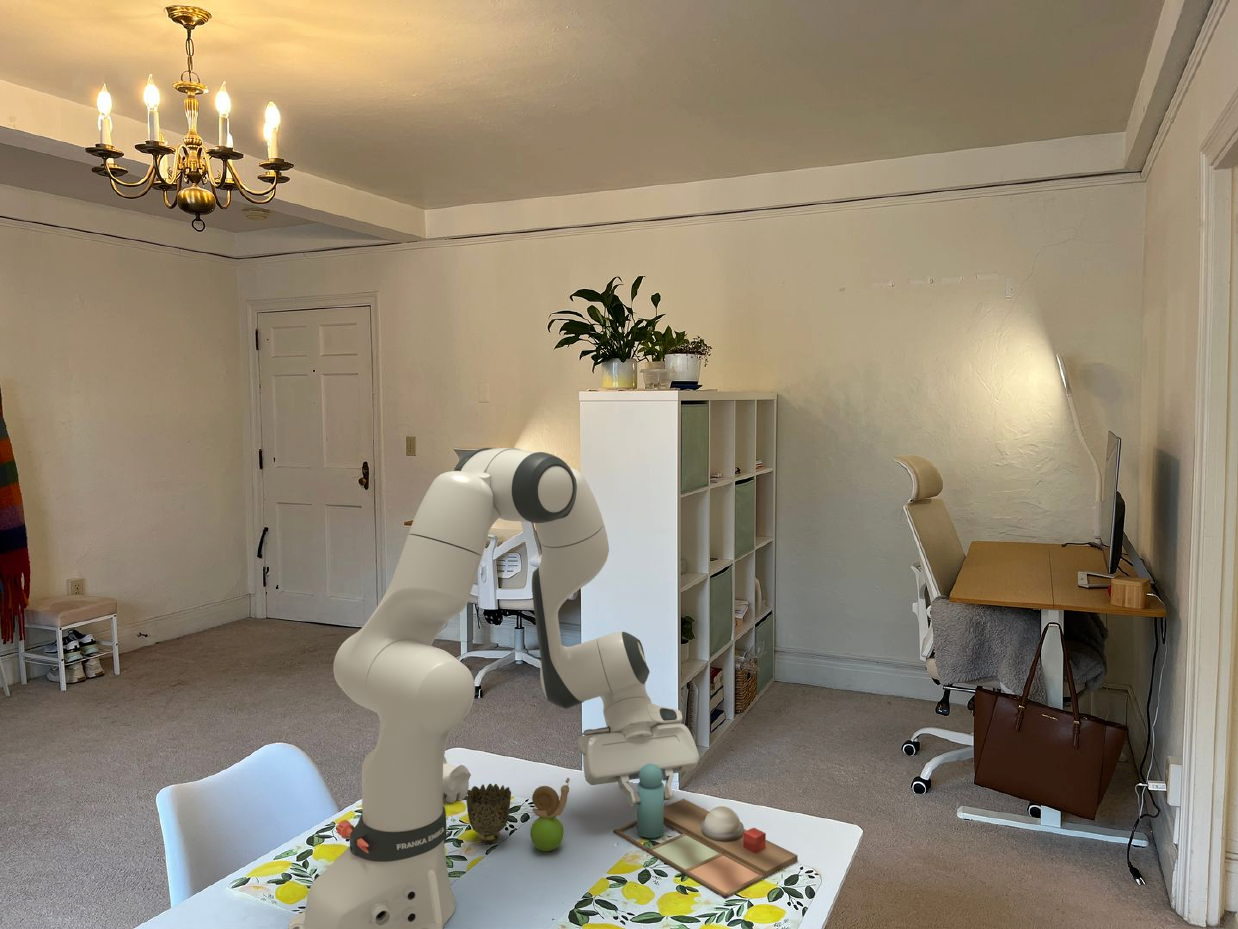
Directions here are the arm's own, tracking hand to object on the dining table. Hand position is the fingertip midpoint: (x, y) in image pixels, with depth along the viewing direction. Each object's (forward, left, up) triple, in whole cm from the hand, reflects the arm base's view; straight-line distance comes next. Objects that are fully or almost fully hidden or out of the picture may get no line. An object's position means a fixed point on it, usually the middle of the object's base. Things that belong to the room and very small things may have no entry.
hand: (652, 801), depth 144 cm
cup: (-22, +16, -6) cm, 28 cm away
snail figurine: (-16, +7, -6) cm, 18 cm away
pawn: (0, +1, -5) cm, 5 cm away
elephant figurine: (-20, +34, -6) cm, 40 cm away
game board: (+4, -8, -7) cm, 11 cm away
